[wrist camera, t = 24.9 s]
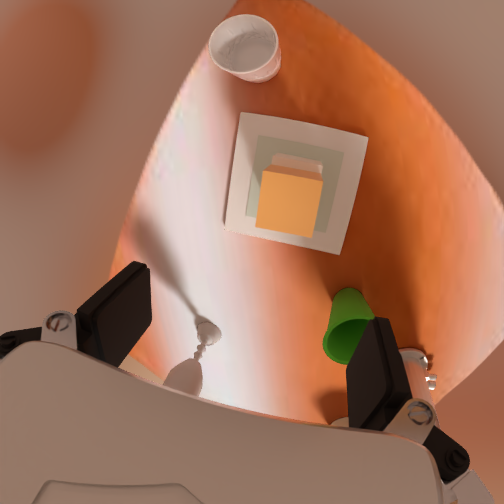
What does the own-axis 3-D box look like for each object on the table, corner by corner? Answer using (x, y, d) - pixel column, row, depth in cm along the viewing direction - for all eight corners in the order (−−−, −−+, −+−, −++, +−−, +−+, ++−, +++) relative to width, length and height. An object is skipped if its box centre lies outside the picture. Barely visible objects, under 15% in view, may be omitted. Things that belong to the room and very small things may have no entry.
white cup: (271, 95, 36) (259, 83, 27) (221, 75, 36) (197, 61, 27) (294, 50, 33) (290, 26, 24) (244, 32, 32) (226, 7, 23)
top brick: (320, 173, 32) (323, 181, 27) (311, 221, 35) (311, 238, 29) (270, 164, 33) (263, 170, 28) (263, 211, 36) (255, 227, 30)
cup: (315, 316, 49) (314, 359, 39) (330, 271, 45) (335, 310, 35) (362, 325, 48) (370, 369, 38) (381, 282, 44) (396, 322, 34)
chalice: (191, 314, 54) (150, 381, 37) (225, 320, 53) (193, 393, 36) (194, 343, 57) (159, 409, 40) (226, 349, 56) (198, 419, 39)
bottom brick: (320, 161, 37) (322, 166, 32) (309, 215, 41) (309, 228, 35) (277, 152, 38) (272, 155, 33) (268, 206, 41) (261, 218, 36)
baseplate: (367, 137, 36) (368, 137, 35) (339, 252, 43) (339, 255, 42) (242, 112, 38) (240, 111, 37) (225, 228, 45) (223, 230, 44)
